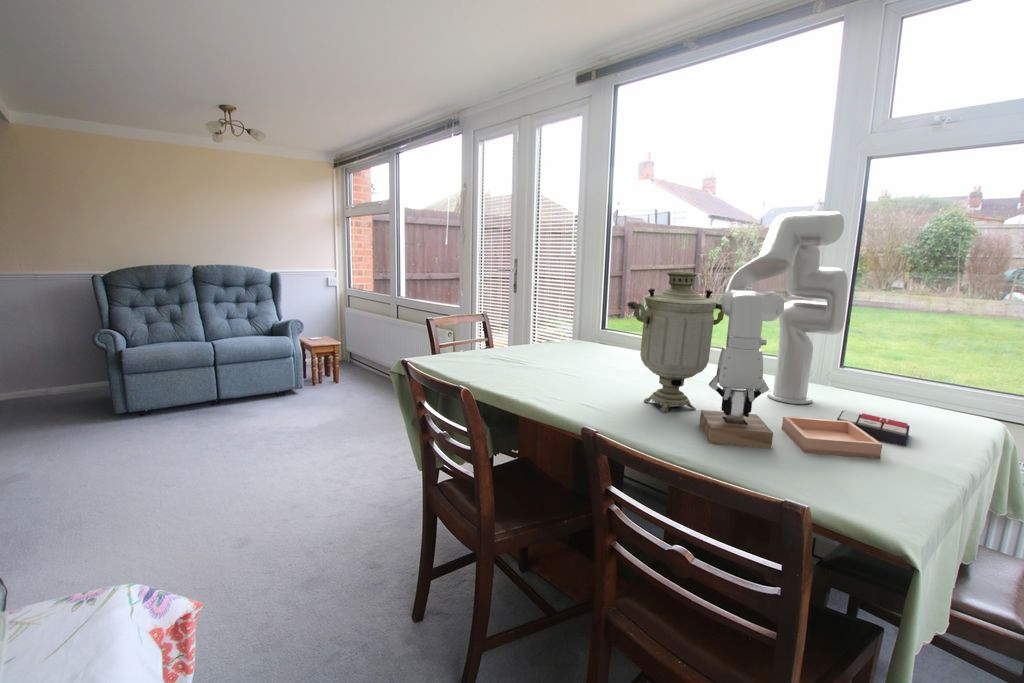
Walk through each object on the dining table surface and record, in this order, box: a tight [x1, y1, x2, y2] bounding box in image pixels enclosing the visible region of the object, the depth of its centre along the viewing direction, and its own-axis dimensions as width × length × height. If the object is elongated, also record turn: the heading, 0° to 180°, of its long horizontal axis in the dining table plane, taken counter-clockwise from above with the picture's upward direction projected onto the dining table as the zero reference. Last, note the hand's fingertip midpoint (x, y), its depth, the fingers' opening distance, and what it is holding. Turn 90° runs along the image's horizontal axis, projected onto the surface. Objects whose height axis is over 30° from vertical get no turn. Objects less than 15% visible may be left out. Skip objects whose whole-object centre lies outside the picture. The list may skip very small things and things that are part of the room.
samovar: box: [626, 271, 725, 414], centre depth 150 cm, size 30×26×40 cm
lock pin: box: [726, 388, 747, 424], centre depth 126 cm, size 4×4×12 cm
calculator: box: [836, 409, 911, 447], centre depth 131 cm, size 11×4×15 cm
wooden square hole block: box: [699, 409, 774, 450], centre depth 127 cm, size 14×14×4 cm
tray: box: [781, 415, 883, 460], centre depth 124 cm, size 16×16×4 cm
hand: (735, 413), depth 126 cm, fingers closed on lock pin, 4 cm apart
